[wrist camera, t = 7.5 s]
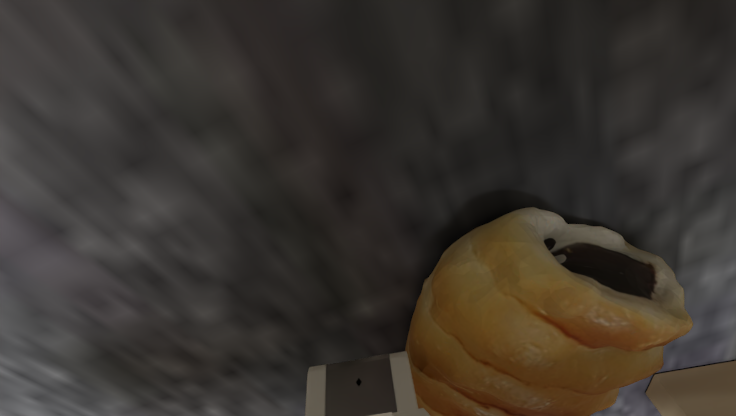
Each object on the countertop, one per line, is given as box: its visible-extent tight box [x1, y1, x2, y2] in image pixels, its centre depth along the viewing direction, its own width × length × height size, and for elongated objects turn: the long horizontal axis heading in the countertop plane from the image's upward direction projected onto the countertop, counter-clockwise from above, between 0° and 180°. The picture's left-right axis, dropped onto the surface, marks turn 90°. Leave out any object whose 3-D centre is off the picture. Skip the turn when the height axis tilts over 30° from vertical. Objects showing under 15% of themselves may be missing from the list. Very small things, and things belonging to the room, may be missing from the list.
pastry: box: [405, 207, 693, 416], centre depth 11 cm, size 9×7×4 cm
